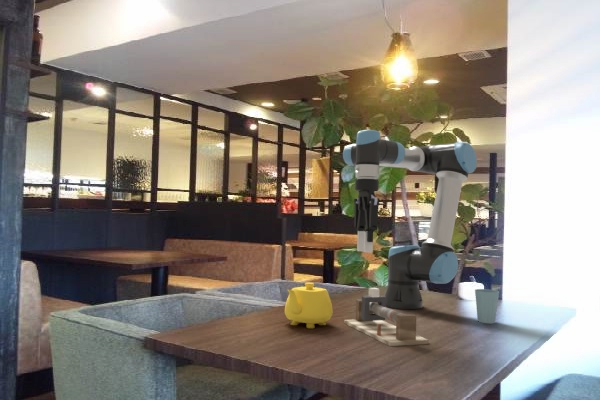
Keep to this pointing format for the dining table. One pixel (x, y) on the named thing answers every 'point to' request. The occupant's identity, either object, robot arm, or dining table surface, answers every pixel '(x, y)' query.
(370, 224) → the robot arm
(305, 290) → the teapot
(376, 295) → the grey sliding frame
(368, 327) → the pipe rig
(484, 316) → the cup
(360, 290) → the dining table surface
